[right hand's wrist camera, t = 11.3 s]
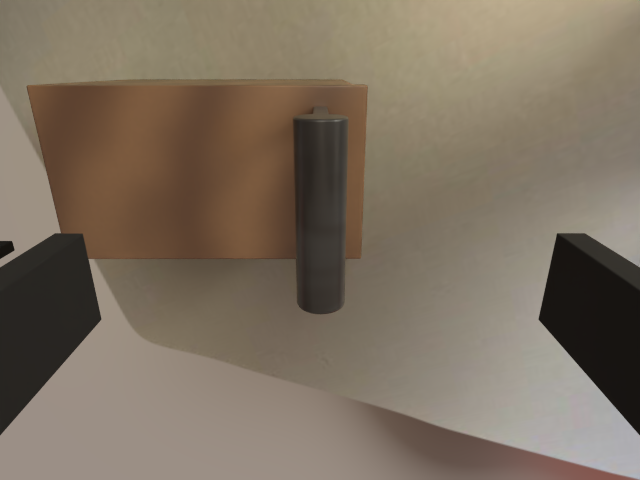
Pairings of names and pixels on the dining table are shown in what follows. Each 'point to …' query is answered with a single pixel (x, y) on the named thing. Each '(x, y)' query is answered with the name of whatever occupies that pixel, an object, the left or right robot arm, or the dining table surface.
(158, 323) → the dining table surface
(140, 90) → the lid
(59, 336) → the right robot arm
